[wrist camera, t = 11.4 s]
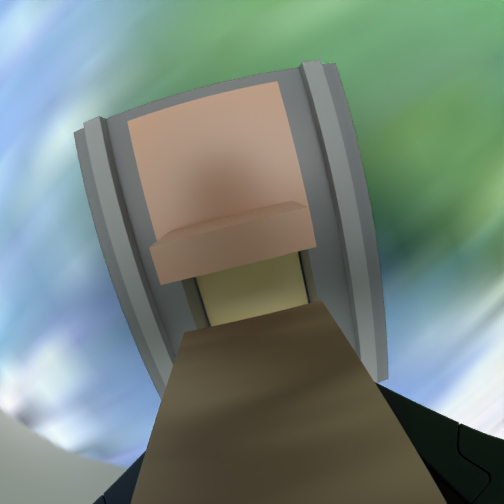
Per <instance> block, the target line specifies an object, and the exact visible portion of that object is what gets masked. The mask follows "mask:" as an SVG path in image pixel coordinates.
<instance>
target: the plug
mask: <svg viewBox="0 0 504 504" xmlns="http://www.w3.org/2000/svg"><path fill="white" fill-rule="evenodd" d="M131 504H447V503H446V501H445V499H444V497H443V496H442V494H441V492H440V490H439V489H438V487H437V485H436V483H435V482H434V480H433V478H432V477H431V475H430V473H429V471H428V470H427V468H426V466H425V465H424V463H423V461H422V459H421V458H420V456H419V454H418V453H417V451H416V449H415V448H414V446H413V444H412V443H411V441H410V439H409V438H408V436H407V434H406V433H405V431H404V429H403V428H402V426H401V424H400V423H399V421H398V419H397V418H396V416H395V415H394V413H393V411H392V410H391V408H390V406H389V405H388V403H387V402H386V400H385V398H384V397H383V395H382V393H381V392H380V390H379V389H378V387H377V385H376V384H375V382H374V381H373V379H372V377H371V376H370V374H369V373H368V371H367V370H366V368H365V366H364V365H363V363H362V362H361V360H360V359H359V357H358V355H357V354H356V352H355V351H354V349H353V348H352V346H351V344H350V343H349V341H348V340H347V338H346V337H345V335H344V334H343V332H342V331H341V329H340V327H339V326H338V324H337V323H336V321H335V320H334V318H333V317H332V315H331V314H330V312H329V311H328V309H327V308H326V306H325V305H324V303H323V301H322V300H319V301H316V302H312V303H308V304H304V305H300V306H297V307H293V308H289V309H285V310H281V311H277V312H273V313H268V314H264V315H260V316H256V317H252V318H247V319H243V320H239V321H234V322H230V323H225V324H221V325H216V326H212V327H207V328H202V329H197V330H193V331H188V332H184V335H183V338H182V341H181V344H180V347H179V349H178V352H177V355H176V358H175V361H174V364H173V367H172V370H171V373H170V376H169V379H168V383H167V386H166V389H165V392H164V395H163V398H162V401H161V404H160V407H159V410H158V414H157V417H156V420H155V423H154V426H153V430H152V433H151V436H150V439H149V443H148V446H147V449H146V452H145V456H144V459H143V462H142V466H141V469H140V473H139V476H138V479H137V483H136V486H135V490H134V493H133V497H132V500H131Z"/></svg>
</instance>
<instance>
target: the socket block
mask: <svg viewBox="0 0 504 504" xmlns="http://www.w3.org/2000/svg"><path fill="white" fill-rule="evenodd" d="M276 81H277V82H278V85H279V89H280V93H281V96H282V100H283V103H284V107H285V111H286V115H287V118H288V122H289V126H290V130H291V134H292V138H293V142H294V146H295V150H296V154H297V158H298V162H299V166H300V170H301V175H302V179H303V183H304V188H305V192H306V197H307V201H308V206H309V210H310V215H311V220H312V224H313V229H314V230H313V231H314V236H315V241H316V246H317V247H314V248H310V249H306V250H302V251H299V255H300V259H301V264H302V269H303V274H304V279H305V284H306V289H307V294H308V299H309V303H312V302H316V301H319V300H322V301H323V303H324V305H325V306H326V308H327V309H328V311H329V312H330V314H331V315H332V317H333V318H334V320H335V321H336V323H337V324H338V326H339V327H340V329H341V331H342V332H343V334H344V335H345V337H346V338H347V340H348V341H349V343H350V344H351V346H352V348H353V349H354V351H355V352H356V354H357V355H358V357H359V359H360V360H361V362H362V363H363V365H364V366H365V368H366V370H367V371H368V373H369V374H370V376H371V377H372V379H373V381H374V382H376V383H378V382H381V381H384V380H386V379H388V353H387V335H386V320H385V308H384V297H383V287H382V278H381V270H380V262H379V254H378V247H377V240H376V233H375V227H374V221H373V215H372V209H371V203H370V198H369V193H368V188H367V182H366V178H365V173H364V168H363V163H362V159H361V154H360V150H359V146H358V142H357V137H356V133H355V129H354V125H353V122H352V118H351V114H350V110H349V107H348V103H347V99H346V96H345V92H344V89H343V86H342V82H341V79H340V76H339V73H338V69H337V66H336V63H332V64H323V65H322V63H321V60H315V61H307V62H302V63H301V65H300V67H299V68H292V69H286V70H280V71H274V72H268V73H263V74H258V75H252V76H248V77H243V78H238V79H234V80H229V81H225V82H221V83H217V84H212V85H209V86H205V87H201V88H197V89H193V90H190V91H186V92H183V93H179V94H176V95H173V96H169V97H166V98H163V99H160V100H157V101H154V102H151V103H148V104H145V105H142V106H139V107H136V108H133V109H131V110H128V111H125V112H122V113H120V114H117V115H114V116H112V117H109V118H107V119H104V118H102V117H100V116H99V117H96V118H94V119H92V120H89V121H87V122H85V123H83V124H84V128H83V129H80V130H78V131H76V132H74V137H75V143H76V148H77V153H78V158H79V163H80V168H81V172H82V177H83V181H84V186H85V190H86V194H87V198H88V202H89V206H90V210H91V214H92V217H93V221H94V225H95V228H96V232H97V235H98V239H99V242H100V245H101V249H102V252H103V255H104V258H105V261H106V265H107V268H108V271H109V274H110V277H111V280H112V283H113V285H114V288H115V291H116V294H117V297H118V299H119V302H120V305H121V308H122V310H123V313H124V316H125V318H126V321H127V323H128V326H129V328H130V331H131V333H132V336H133V338H134V341H135V343H136V345H137V348H138V350H139V352H140V355H141V357H142V359H143V362H144V364H145V366H146V368H147V371H148V373H149V375H150V377H151V379H152V381H153V384H154V386H155V388H156V390H157V392H158V394H159V396H160V398H161V400H162V398H163V395H164V392H165V389H166V386H167V383H168V379H169V376H170V373H171V370H172V367H173V364H174V361H175V358H176V355H177V352H178V349H179V347H180V344H181V341H182V338H183V335H184V332H188V331H193V330H197V329H202V328H207V327H210V325H211V327H212V326H216V325H221V324H225V323H230V322H234V321H239V320H243V319H247V318H252V317H256V316H260V315H264V314H268V313H273V312H277V311H281V310H285V309H289V308H293V307H297V306H300V305H304V304H308V299H307V294H306V289H305V284H304V280H303V275H302V270H301V265H300V260H299V256H298V252H294V253H290V254H286V255H282V256H278V257H274V258H270V259H266V260H262V261H258V262H254V263H250V264H246V265H241V266H237V267H233V268H229V269H225V270H221V271H217V272H213V273H209V274H205V275H200V276H196V279H195V277H192V278H188V279H184V280H180V281H176V282H171V283H167V284H163V285H161V284H160V281H159V278H158V275H157V272H156V269H155V265H154V262H153V259H152V256H151V252H150V249H149V247H150V246H151V245H153V244H154V243H155V242H157V239H156V236H155V232H154V229H153V225H152V222H151V218H150V214H149V211H148V207H147V203H146V199H145V196H144V192H143V188H142V184H141V180H140V176H139V172H138V167H137V163H136V159H135V155H134V150H133V146H132V141H131V137H130V132H129V127H128V122H127V121H130V120H132V119H135V118H138V117H141V116H144V115H147V114H150V113H153V112H156V111H159V110H162V109H165V108H169V107H172V106H175V105H178V104H182V103H185V102H189V101H192V100H196V99H200V98H204V97H207V96H211V95H215V94H219V93H223V92H228V91H232V90H236V89H241V88H245V87H250V86H255V85H260V84H265V83H270V82H276ZM196 280H197V282H196ZM197 283H198V286H197ZM198 287H199V289H198ZM199 290H200V292H199ZM200 293H201V296H202V299H201V296H200ZM202 300H203V302H202ZM203 303H204V305H203ZM204 306H205V308H204ZM205 309H206V311H205ZM206 312H207V315H206ZM207 316H208V318H207ZM208 319H209V321H208ZM209 322H210V324H209Z"/></svg>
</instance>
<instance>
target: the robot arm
mask: <svg viewBox="0 0 504 504" xmlns="http://www.w3.org/2000/svg"><path fill="white" fill-rule="evenodd" d="M375 384H376V385H377V387H378V389H379V390H380V392H381V393H382V395H383V397H384V398H385V400H386V402H387V403H388V405H389V406H390V408H391V410H392V411H393V413H394V415H395V416H396V418H397V419H398V421H399V423H400V424H401V426H402V428H403V429H404V431H405V433H406V434H407V436H408V438H409V439H410V441H411V443H412V444H413V446H414V448H415V449H416V451H417V453H418V454H419V456H420V458H421V459H422V461H423V463H424V465H425V466H426V468H427V470H428V471H429V473H430V475H431V477H432V478H433V480H434V482H435V483H436V485H437V487H438V489H439V490H440V492H441V494H442V496H443V497H444V499H445V501H446V503H447V504H504V439H500V438H497V437H494V436H491V435H488V434H485V433H483V432H480V431H478V430H475V429H473V428H470V427H468V426H466V425H464V424H459V423H458V422H457V421H454V420H452V419H450V418H448V417H446V416H444V415H441V414H439V413H437V412H435V411H433V410H431V409H429V408H427V407H424V406H422V405H420V404H418V403H416V402H414V401H412V400H410V399H408V398H406V397H404V396H402V395H400V394H398V393H396V392H394V391H392V390H390V389H388V388H386V387H384V386H382V385H380V384H378V383H376V382H375ZM145 452H146V451H145ZM145 452H144V453H143V454H142V455H141V456H140V457H139V458H138V459H137V460H136V461H135V462H134V463H133V464H132V465H131V466H130V467H129V468H128V469H127V470H126V471H125V472H124V473H123V474H122V475H121V477H119V478H118V479H117V480H116V482H115V483H113V485H111V486H110V488H108V489H107V490H106V491H105V492H104V495H101V496H100V497H99V498H98V499H97V500H96V501H95V502H94V503H93V504H131V500H132V497H133V493H134V490H135V486H136V483H137V479H138V476H139V473H140V469H141V466H142V462H143V459H144V456H145Z"/></svg>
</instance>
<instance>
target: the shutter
mask: <svg viewBox="0 0 504 504" xmlns="http://www.w3.org/2000/svg"><path fill="white" fill-rule="evenodd" d="M127 122H128V127H129V132H130V137H131V141H132V146H133V150H134V155H135V159H136V163H137V167H138V172H139V176H140V180H141V184H142V188H143V192H144V196H145V199H146V203H147V207H148V211H149V214H150V218H151V222H152V225H153V229H154V232H155V236H156V239H157V242H155V243H154V244H153V245H151V246H150V247H149V249H150V252H151V256H152V259H153V262H154V265H155V269H156V272H157V275H158V278H159V281H160V284H161V285H163V284H167V283H171V282H176V281H180V280H184V279H188V278H192V277H196V276H200V275H205V274H209V273H213V272H217V271H221V270H225V269H229V268H233V267H237V266H241V265H246V264H250V263H254V262H258V261H262V260H266V259H270V258H274V257H278V256H282V255H286V254H290V253H294V252H298V251H302V250H306V249H310V248H314V247H317V246H316V241H315V236H314V231H313V230H314V229H313V224H312V220H311V215H310V210H309V206H308V201H307V197H306V192H305V188H304V183H303V179H302V175H301V170H300V166H299V162H298V158H297V154H296V150H295V146H294V142H293V138H292V134H291V130H290V126H289V122H288V118H287V115H286V111H285V107H284V103H283V100H282V96H281V93H280V89H279V85H278V82H277V81H276V82H270V83H265V84H260V85H255V86H250V87H245V88H241V89H236V90H232V91H228V92H223V93H219V94H215V95H211V96H207V97H204V98H200V99H196V100H192V101H189V102H185V103H182V104H178V105H175V106H172V107H169V108H165V109H162V110H159V111H156V112H153V113H150V114H147V115H144V116H141V117H138V118H135V119H132V120H130V121H127Z"/></svg>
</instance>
